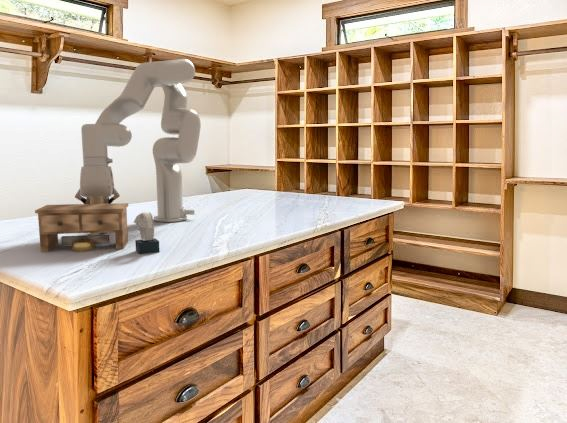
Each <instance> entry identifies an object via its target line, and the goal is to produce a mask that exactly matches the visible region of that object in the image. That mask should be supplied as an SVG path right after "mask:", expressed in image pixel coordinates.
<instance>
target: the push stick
mask: <svg viewBox="0 0 567 423" xmlns="http://www.w3.org/2000/svg"><path fill="white" fill-rule="evenodd" d="M90 204H105V202H104V199H103V196H90ZM60 239H61V240H60V241H61V246H63V247H64V246H65V247H66V246H69V247H70V246H71V247H72V241H74V240H79V239H93V240H94V241H95V246H96V245H101V246H102V245H110V234H102V233H88V234H87V235H63V236H61V238H60Z"/></svg>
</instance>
